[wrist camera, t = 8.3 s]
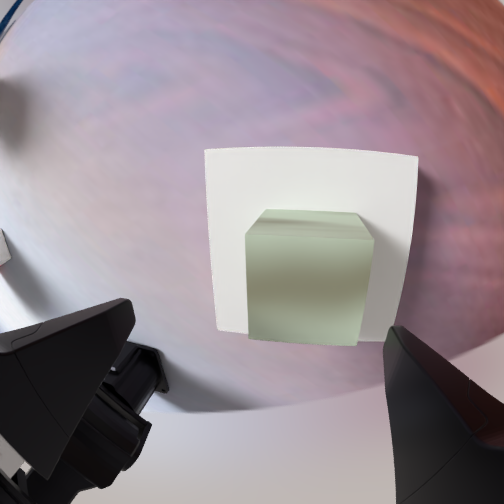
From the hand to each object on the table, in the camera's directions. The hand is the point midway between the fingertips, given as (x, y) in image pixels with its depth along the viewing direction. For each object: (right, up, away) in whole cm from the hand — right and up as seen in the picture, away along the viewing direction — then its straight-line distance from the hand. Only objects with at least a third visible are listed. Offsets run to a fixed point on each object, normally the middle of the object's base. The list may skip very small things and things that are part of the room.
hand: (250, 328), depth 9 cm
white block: (+4, +3, +10) cm, 11 cm away
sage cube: (+3, +2, +7) cm, 8 cm away
